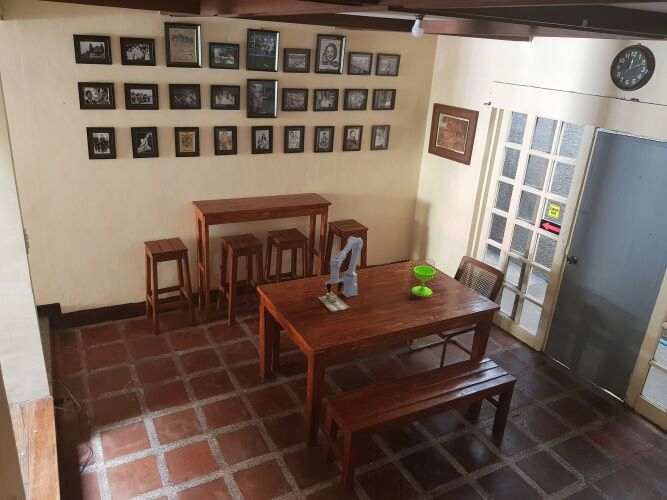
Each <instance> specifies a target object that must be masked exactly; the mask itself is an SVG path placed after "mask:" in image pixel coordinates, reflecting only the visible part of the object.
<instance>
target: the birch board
mask: <svg viewBox="0 0 667 500" xmlns="http://www.w3.org/2000/svg"><path fill="white" fill-rule="evenodd" d="M333 294H334V295H335V296H336V297H337V298H336V302H332V303H330V302H329V300H328V299H327V298H326V295H323V296H318V297H317V299H318V300H319V302H321V304H322V305H324V306H325V308H326V309H327V310H328V311H330V313H335V312H339V311H344V310H349V309H350V307H349V305H347V304H346V303H345V302H344V301H343V300H342V299H341V298H340V297H339V296H338V295H337V294H336V293H333Z"/></svg>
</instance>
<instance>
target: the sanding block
mask: <svg viewBox="0 0 667 500" xmlns="http://www.w3.org/2000/svg"><path fill="white" fill-rule="evenodd" d="M334 294H335V293H334V292H333V291H330V294H329V293H328V292H326V293H325V296H326V298H327V299H328V300H329V302H330V303H332V302H336V298H337V297H336V296H335V295H334Z"/></svg>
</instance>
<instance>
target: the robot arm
mask: <svg viewBox="0 0 667 500" xmlns="http://www.w3.org/2000/svg"><path fill="white" fill-rule="evenodd" d="M346 241H347V242H346V245H345V246H344V247H343V249H342V250H340V251H338V253H337V254H336V256H334V257H333V258H330V261H329V266H330V267H329V268H330V279H328V280H327V281H326V280H325V281H324V285H325V286H326V288H327V289H326V290H327V293H329V294H330V292H331V288H332V286H331V285H332V284H337V292H339V293H340V291H341V289H342V287H343V291H342V292H341V294H342V295H343V296H344V297H345V298H350V297H354V296H358V284H357V281H358V274H357V272H356V270H357V263H358V262H359V261H358V260H359V256H360V252H361V251H362V249H363V246H364V241H363V239H362V238H358V237H354V236H352V235H350V236H349V237H348V238H347V240H346ZM351 250H352V253H351V257H350V260H349V264H348V269H347V270H345V271H344V273H343V275H342V277H341V278H340V268H341V266H342V264H343V261H344V260H345V259H346V257H347V254H348V253H349V252H350V251H351Z"/></svg>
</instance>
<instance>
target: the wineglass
mask: <svg viewBox="0 0 667 500" xmlns="http://www.w3.org/2000/svg"><path fill="white" fill-rule="evenodd" d="M413 272H414V275H415V277H416V279H418V280H419V281H421V285H420V286H414V287H412V288H411V290H410V291H411V293H412V294H413V295H415V296H418V297H424V298H425V297H430V296H432V295H433V290H432V289H430V288H429V287H427V286H425V282H427V281H430V280H432V279H433V278H434V276H435V274H436V270H435V269H434V268H433V267H431V266H427V265H417V266H415V267H414V268H413Z"/></svg>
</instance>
